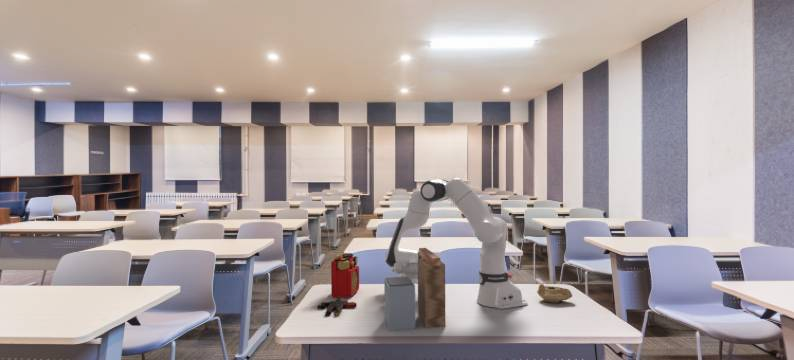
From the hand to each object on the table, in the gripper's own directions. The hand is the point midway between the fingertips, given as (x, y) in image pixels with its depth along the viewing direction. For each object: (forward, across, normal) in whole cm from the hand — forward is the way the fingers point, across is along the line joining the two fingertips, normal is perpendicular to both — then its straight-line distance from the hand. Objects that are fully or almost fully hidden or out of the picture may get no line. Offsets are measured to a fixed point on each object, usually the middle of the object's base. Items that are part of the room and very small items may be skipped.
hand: (417, 262), depth 171 cm
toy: (-10, -38, +17) cm, 43 cm away
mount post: (+10, 0, +28) cm, 29 cm away
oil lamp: (-1, +63, +21) cm, 67 cm away
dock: (+10, -13, +28) cm, 32 cm away
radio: (-29, -32, +6) cm, 43 cm away
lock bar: (+19, 0, +5) cm, 20 cm away
